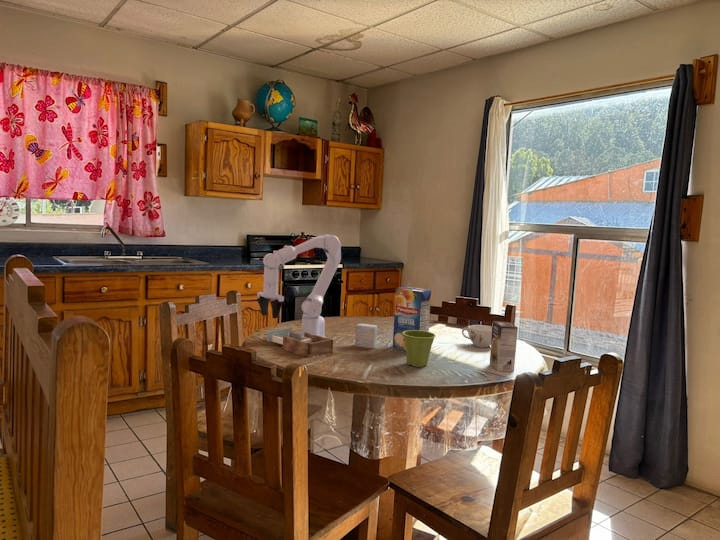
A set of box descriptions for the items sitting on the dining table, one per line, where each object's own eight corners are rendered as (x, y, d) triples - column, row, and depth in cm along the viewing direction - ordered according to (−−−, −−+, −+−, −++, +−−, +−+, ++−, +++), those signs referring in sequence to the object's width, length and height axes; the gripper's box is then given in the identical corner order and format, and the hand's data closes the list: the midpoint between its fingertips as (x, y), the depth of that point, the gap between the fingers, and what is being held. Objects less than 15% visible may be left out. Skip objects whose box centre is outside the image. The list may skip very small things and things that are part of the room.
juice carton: (392, 347, 220) (395, 288, 218) (402, 344, 226) (405, 286, 224) (418, 352, 213) (421, 291, 211) (427, 349, 219) (431, 290, 216)
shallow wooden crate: (281, 349, 209) (282, 336, 208) (304, 344, 218) (305, 332, 217) (309, 357, 199) (310, 344, 198) (332, 352, 207) (333, 339, 207)
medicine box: (376, 346, 220) (378, 325, 219) (373, 349, 216) (374, 327, 215) (358, 344, 223) (359, 323, 222) (354, 346, 219) (355, 325, 218)
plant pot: (410, 370, 189) (412, 338, 187) (394, 361, 199) (396, 330, 198) (440, 368, 193) (442, 336, 192) (423, 359, 204) (425, 329, 203)
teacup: (500, 345, 233) (501, 326, 232) (493, 351, 222) (495, 331, 221) (465, 340, 239) (466, 322, 238) (457, 345, 228) (458, 326, 227)
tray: (266, 341, 215) (267, 331, 214) (289, 337, 224) (290, 327, 223) (292, 348, 205) (292, 338, 204) (315, 344, 214) (315, 334, 213)
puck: (296, 339, 216) (297, 331, 216) (304, 342, 212) (304, 333, 212) (286, 341, 213) (286, 332, 212) (294, 344, 209) (294, 334, 209)
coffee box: (488, 364, 202) (491, 320, 200) (505, 364, 202) (509, 321, 201) (496, 371, 193) (500, 326, 191) (514, 371, 193) (518, 326, 191)
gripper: (251, 281, 223) (250, 314, 224) (274, 286, 213) (273, 320, 215) (265, 280, 228) (264, 313, 229) (288, 285, 218) (287, 318, 220)
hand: (269, 316), depth 222 cm, fingers open, 6 cm apart
